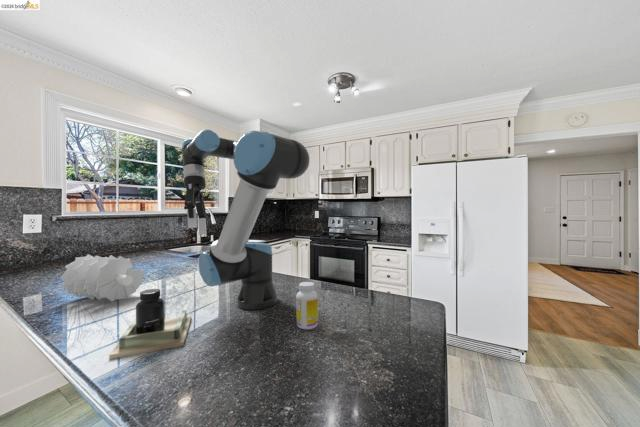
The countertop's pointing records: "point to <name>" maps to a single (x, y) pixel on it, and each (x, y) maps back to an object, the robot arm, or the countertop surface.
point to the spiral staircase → (102, 277)
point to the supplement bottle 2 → (307, 306)
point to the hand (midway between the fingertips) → (198, 231)
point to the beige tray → (153, 338)
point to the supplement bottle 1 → (150, 312)
